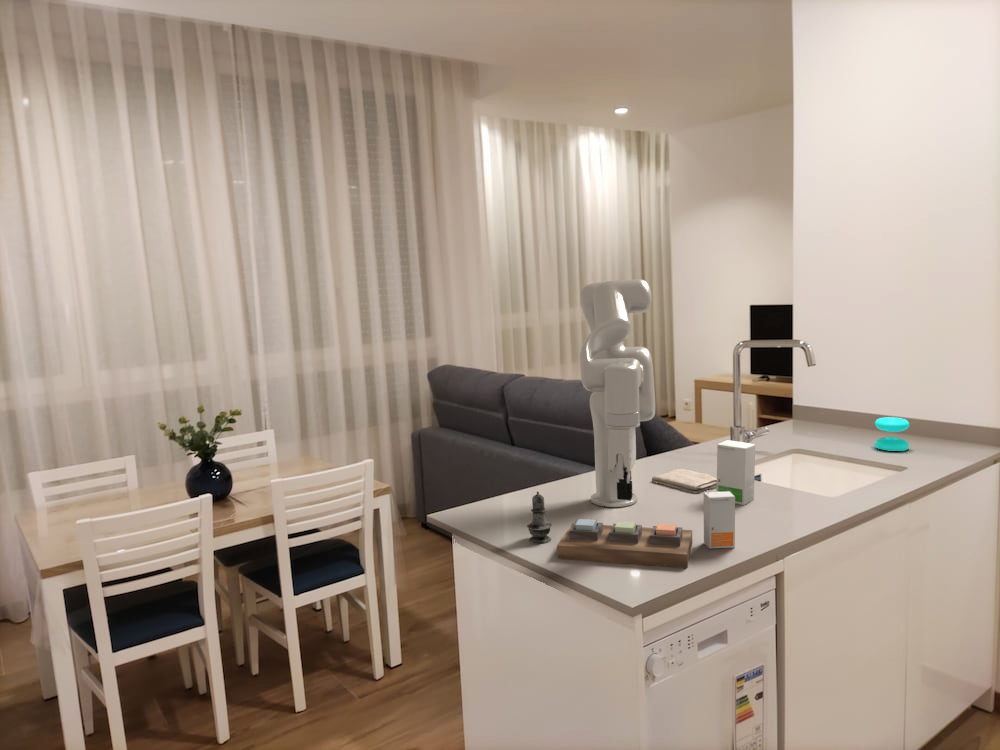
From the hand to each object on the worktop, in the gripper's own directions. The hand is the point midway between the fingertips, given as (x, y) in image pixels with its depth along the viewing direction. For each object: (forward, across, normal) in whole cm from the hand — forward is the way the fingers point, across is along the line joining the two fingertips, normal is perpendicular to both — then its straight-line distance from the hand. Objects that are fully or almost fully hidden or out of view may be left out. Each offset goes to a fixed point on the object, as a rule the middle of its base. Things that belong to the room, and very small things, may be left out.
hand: (624, 498), depth 165 cm
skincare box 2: (+13, -40, +23) cm, 48 cm away
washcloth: (+13, -54, +9) cm, 56 cm away
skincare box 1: (+12, -6, +20) cm, 24 cm away
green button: (+8, +1, 0) cm, 8 cm away
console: (+12, +2, 0) cm, 12 cm away
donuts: (+14, -105, +71) cm, 127 cm away
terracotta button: (+8, +1, +9) cm, 12 cm away
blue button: (+8, +2, -9) cm, 12 cm away
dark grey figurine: (+12, -1, -21) cm, 24 cm away
